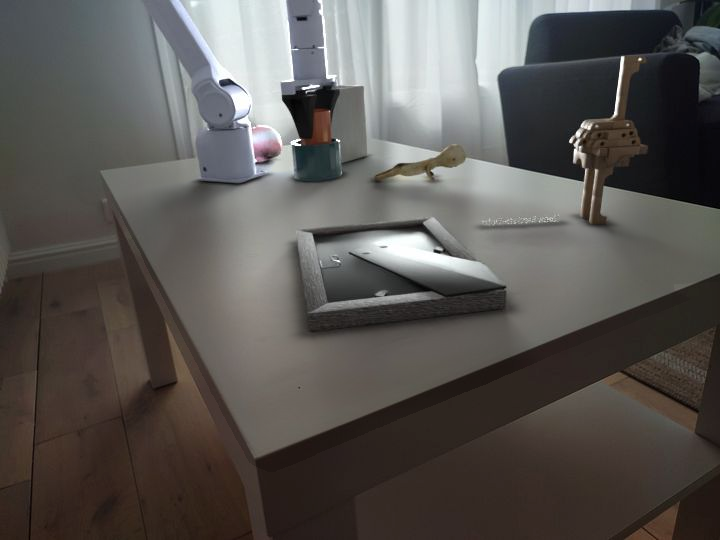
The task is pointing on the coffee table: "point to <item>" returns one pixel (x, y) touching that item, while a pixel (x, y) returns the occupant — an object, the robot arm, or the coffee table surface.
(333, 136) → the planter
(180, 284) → the coffee table surface
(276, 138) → the onion
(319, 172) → the base cup
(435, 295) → the picture frame
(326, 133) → the cup
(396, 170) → the figurine
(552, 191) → the coffee table surface
